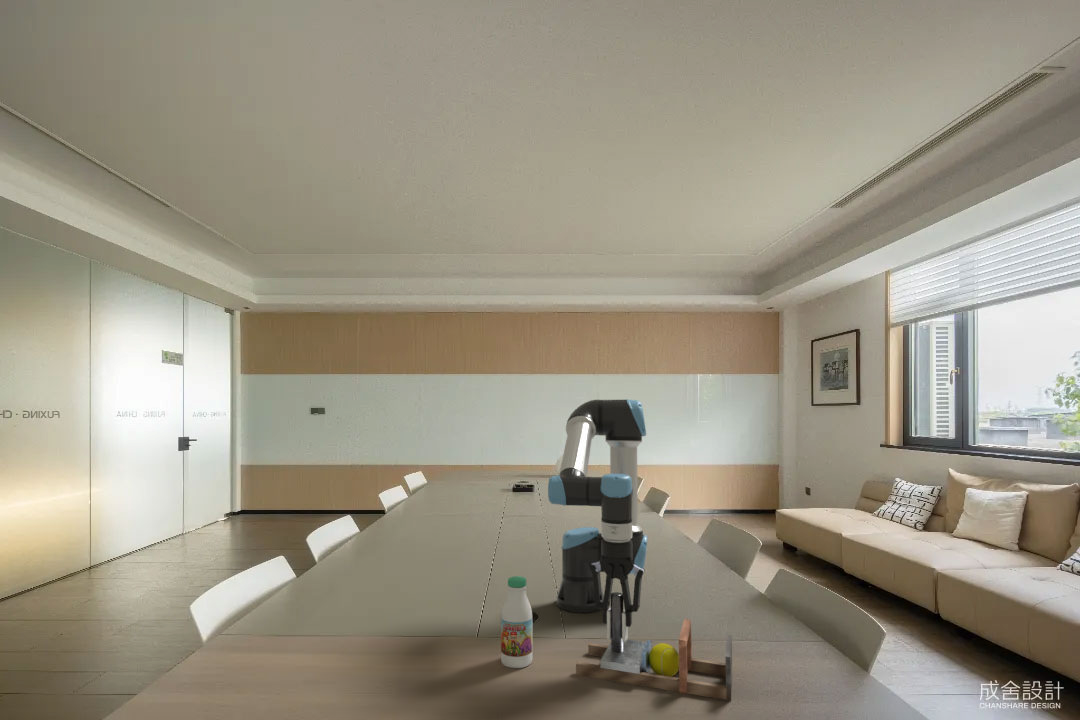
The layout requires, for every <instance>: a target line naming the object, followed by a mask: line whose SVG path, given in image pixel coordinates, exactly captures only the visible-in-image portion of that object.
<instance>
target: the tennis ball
mask: <svg viewBox="0 0 1080 720" xmlns="http://www.w3.org/2000/svg"><path fill="white" fill-rule="evenodd" d="M649 663H650V666H651V668H650V669H651V670H652V672H653V674H657V675H663V676H669V677H675V676H676V674H677V673H679V651H677V649H676V648H675V647H674V646H673V645H671V644H668V643H664V642H660V643H657V644H655V645H654V646H652V649H651V651H650V654H649Z"/></svg>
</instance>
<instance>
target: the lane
mask: <svg viewBox="0 0 1080 720" xmlns="http://www.w3.org/2000/svg"><path fill="white" fill-rule="evenodd" d="M725 643H726V645H725V655H724V656H725V657H724V658H725V659H724V660H725V662H719V661H712V660H706V659H699V658H692V657H693V656H692V654H693V651H692V647H693V646H692V644H693V642H692V620H691V619H683V622H682V627H681V630H680V634H679V637H678V654H679V670H678V677H675V676H672V677H669V676H663V675H657V674H655V673H650V672H649V673H645V672H642V671H641V672H640V674H636V673H630V672H624V671H618V670H612V669H606V668H601V664H594V663H588V662H582V661H577V662H576V663H575V674H576V676H577V675H578V676H584V677H590V678H594V679H600V680H607V681H613V682H618V683H625V684H630V685H635V686H636V685H637V686H643V687H647V688H655V689H661V690H667V691H672V692H678V693H682V694H686V695H687V694H691V695H696V696H702V697H708V698H712V699H719V700H723V701H724V700H725V701H732V691H733V689H732V687H733V652H732V651H733V648H732V647H733V646H732V645H733V644H732V634H726V642H725ZM608 646H609V645H606V644H599V643H593V642H589V643H588V646H587V647H588V650H587V651H588V653H587V654H588V655H589V656H594V657H601V658H602V657H603V655H604V653H605V652H606V650H607V648H608ZM688 672H697V673H704V674H711V675H717V676H721V677H722V676H724V677H725V684H718V683H712V682H705V681H699V680H693V679H688Z"/></svg>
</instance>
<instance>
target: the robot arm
mask: <svg viewBox="0 0 1080 720" xmlns="http://www.w3.org/2000/svg"><path fill="white" fill-rule="evenodd" d="M644 415H645V414H644V408H643V404H642V402H641V401H640V400H636V399H628V398H627V399H626V398H625V399H591V400H588V401H586V402H584V403H583V404H581V405H579V406H577V408H575V409H574V410H573V411H572V413H570V416H569V417H568V419H567V420H566V421H567V422H566V425H565V432H566V435H567V436H566V442H565V444H564V449H563V454H562V460H561V464H560V469H559V473H558V475H552V476H550V477H549V479H548V483H547V484H548V485H547V497H548V501H549V503H550V504H551V505H558V506H559V505H561V506H565V507H566V506H576V507H577V506H581V507H583V506H585V507H586V506H587V507H589V506H590V507H601V518H600V519H601V523H600V524H601V525H600V528H601V533H600V530H599V528H598V527H592V526H588V527H587V526H586V527H585V526H584V527H578V528H577V527H576V528H573V529H569V530H567V531H566V532H565V533H563V536H562V545H561V550H562V551H561V552H562V553H561V555H562V563H561V565H562V568H561V569H562V571H561V572H562V573H561V575H562V577H561V581H560V585H559V588H558V592H557V595H556V606H557V607H558V608H560V609H561V610H564V611H566V612H569V613H570V612H572V613H577V614H580V613H581V614H582V613H583V614H586V613H594V612H598V611H601V610H602V622H603V624H605V625H606V640H610V641H611V593H613V592H612V591H613V590H612V589H613V583H614V579H616V580H619V583H620V586H621V593H622V594H623V608H624V609H623V613H622V642H626V640H628V638H629V632H628V631H629V628H630V627H631V626H632V624H633V613H635V612H636V613H637V612H638V611H639V609H640V605H641V594H642V592H641V591H642V580H643V579H642V578H643V576H644V573H645V571H646V570H645V564H646V555H647V548H648V547H647V546H648V535H647V534H644V531H643V530H644V529H643V528H642V526H640V524H639V521H638V520H639V519H638V517H639V511H638V510H639V509H638V508H639V506H638V505H639V504H638V503H639V501H638V500H639V499H638V498H639V497H638V494H639V493H638V492H639V491H638V447H639V445H640V444H641V443H642V442H643V437H646V436H647V430H646V422H645V416H644ZM595 436H604V437H605V442H606V444H607V445H608V446H609V448H610V449H609V451H610V452H609V457H610V458H609V459H610V465H609V467H610V471H609V473H606V474H604V475H602V476H588V469H589V461H590V456H591V455H590V453H591V446H592V440H593V439H594V438H595ZM601 573H605V574H606V575H605V586H604V591H603V588H602V581H601V580H602V578H601ZM632 574H633V575H634V576H635V578H634V584H633V586H634V588H633V597H632V598H633V599H632V598H631V593H630V585H629V584H630V583H629V575H632Z"/></svg>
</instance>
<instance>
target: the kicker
mask: <svg viewBox="0 0 1080 720" xmlns="http://www.w3.org/2000/svg"><path fill="white" fill-rule="evenodd" d="M610 608H611V639H610V643H609V645H607V646H608V648H607V650H606V652H605V653H604V655H603V657H601V659H600V665H601V668H606V669H612V670H618V671H624V672H630V673H636V674H640V672H645V673H650V670H651V669H652V668H651V666H650V663H649V654H650V651H651V649H652V648H653V646H652V644H653V643H652V640H651V639H650V640H649V639H647V640H646V641H638V640H634V639H633V640H632V639H627V640H626V642H622V613H623V611H624V600H623V594H622V592H617V591H616V592H611V599H610Z"/></svg>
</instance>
